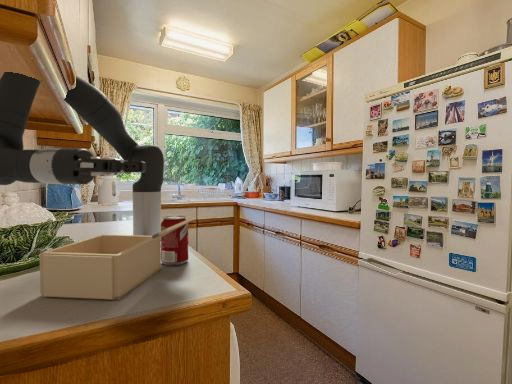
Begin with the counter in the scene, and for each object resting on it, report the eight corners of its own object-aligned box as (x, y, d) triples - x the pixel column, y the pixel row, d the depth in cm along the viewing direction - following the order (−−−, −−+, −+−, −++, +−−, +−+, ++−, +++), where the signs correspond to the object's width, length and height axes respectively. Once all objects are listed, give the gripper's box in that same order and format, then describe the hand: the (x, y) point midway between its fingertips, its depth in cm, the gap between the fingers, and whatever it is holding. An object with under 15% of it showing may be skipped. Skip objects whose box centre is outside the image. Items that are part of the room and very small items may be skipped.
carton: (101, 266, 67) (100, 234, 67) (161, 268, 66) (161, 235, 65) (35, 297, 49) (34, 253, 49) (117, 301, 48) (116, 256, 47)
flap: (160, 234, 64) (194, 216, 63) (161, 236, 64) (195, 218, 63) (120, 252, 48) (166, 228, 47) (122, 255, 48) (167, 231, 47)
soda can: (174, 268, 66) (174, 219, 65) (155, 264, 69) (154, 217, 68) (193, 261, 72) (193, 216, 71) (175, 257, 75) (174, 214, 74)
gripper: (36, 144, 50) (127, 144, 49) (85, 151, 63) (158, 152, 62) (37, 184, 51) (127, 185, 49) (86, 184, 64) (158, 184, 63)
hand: (144, 166), depth 56 cm, fingers closed
